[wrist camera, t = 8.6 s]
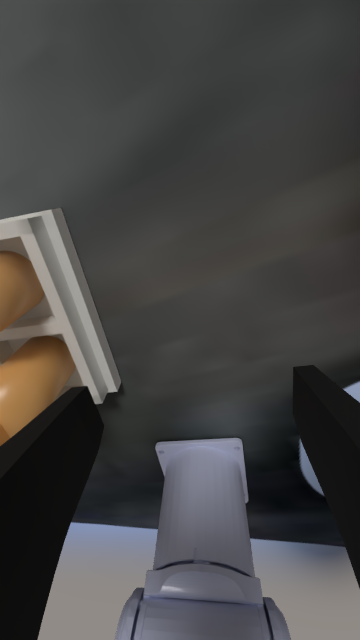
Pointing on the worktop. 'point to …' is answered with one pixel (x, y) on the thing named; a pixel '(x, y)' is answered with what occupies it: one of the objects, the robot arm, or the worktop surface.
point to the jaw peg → (32, 381)
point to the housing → (51, 299)
